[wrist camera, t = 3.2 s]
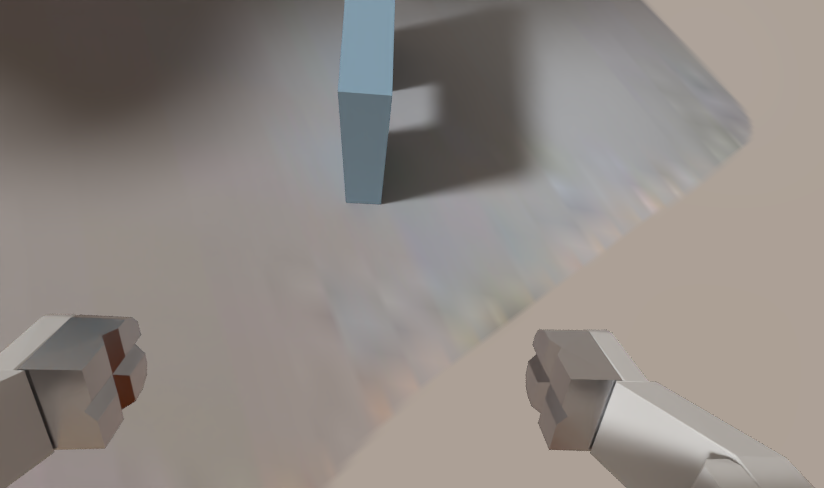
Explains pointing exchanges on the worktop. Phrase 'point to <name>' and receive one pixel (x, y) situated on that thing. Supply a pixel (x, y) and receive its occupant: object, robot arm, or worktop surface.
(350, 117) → the slotted plate
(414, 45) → the worktop surface
